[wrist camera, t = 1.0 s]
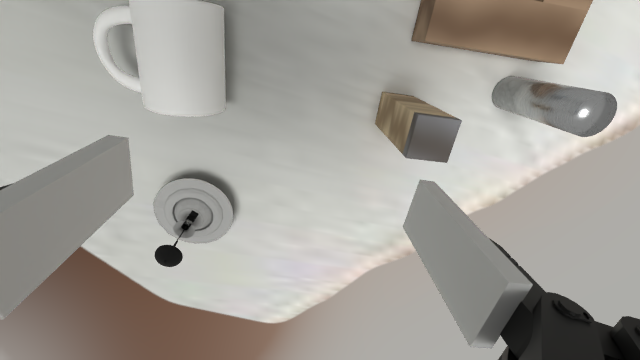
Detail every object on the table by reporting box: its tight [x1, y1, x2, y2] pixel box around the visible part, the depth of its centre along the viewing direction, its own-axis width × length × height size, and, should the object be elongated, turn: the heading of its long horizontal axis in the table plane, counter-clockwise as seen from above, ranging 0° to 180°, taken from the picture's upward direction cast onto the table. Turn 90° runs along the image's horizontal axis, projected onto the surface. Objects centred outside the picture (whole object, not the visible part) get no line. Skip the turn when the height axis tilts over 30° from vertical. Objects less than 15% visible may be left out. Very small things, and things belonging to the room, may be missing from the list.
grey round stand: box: [153, 178, 233, 267], centre depth 35 cm, size 12×10×10 cm
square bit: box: [375, 92, 462, 163], centre depth 32 cm, size 4×4×12 cm
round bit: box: [492, 76, 617, 137], centre depth 32 cm, size 4×4×12 cm
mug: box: [93, 0, 226, 117], centre depth 29 cm, size 12×10×8 cm
